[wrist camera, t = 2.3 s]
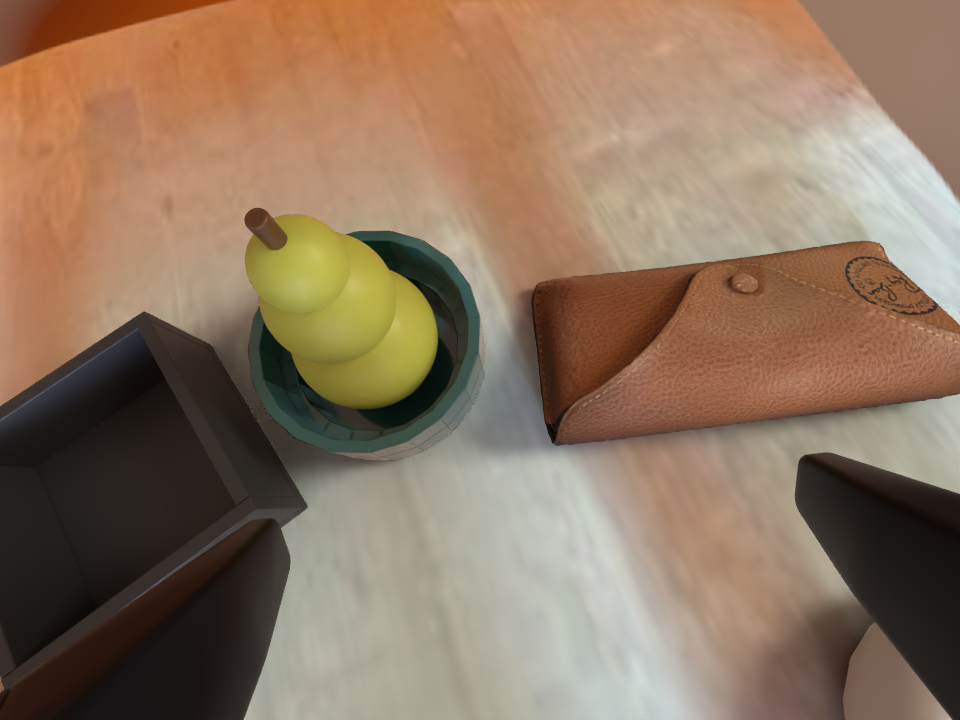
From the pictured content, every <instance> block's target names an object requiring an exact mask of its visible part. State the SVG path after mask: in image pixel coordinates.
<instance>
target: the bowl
mask: <svg viewBox="0 0 960 720" xmlns="http://www.w3.org/2000/svg"><path fill="white" fill-rule="evenodd" d="M346 235H348V236H351V237H353V238H356V239H358V240H360V241H361V242H363V243H365V244H366V245H368V246H369V247H370V248H371V249H373V250H374V251H375V252H376V253H377V254H378V255H379V256H380V257H381V259H382V260H383V261H384V263H385V264H386V266H387V267H388V269H389V270H391V271H393V272H396V273H398V274H400V275H401V276H403V277H405V278H406V279H408V280H409V281H410V282H411V283H413V284H414V285H415V286H416V287H417V288H418V289H419V290H420V291H421V292H422V294H423V295H424V297H425V298H426V300H427V301H428V303H429V305H430V307H431V309H432V311H433V313H434V317H435V320H436V324H437V330H438V345H437V352H436V356H435V360H434V363H433V365H432V368H431V370H430V371H429V373H428V375H427V377H426V378H425V380H424V381H423V383H422V384H421V385H420V387H419V388H418V389H417V390H416V391H415V392H413V393H412V394H411V395H409V396H408V397H406V398H404V399H402V400H401V401H398V402H396V403H394V404H392V405H389V406H386V407H382V408H377V409H366V410H362V409H352V408H347V407H343V406H340V405H337V404H335V403H332V402H330V401H328V400H326V399H325V398H323V397H322V396H321V395H319V394H318V393H316V392H315V391H314V390H313V389H312V388H311V387H310V386H309V385H308V384H307V383H306V381H305V380H304V379H303V378H302V376H301V375H300V373H299V371H298V370H297V368H296V365H295V363H294V360H293V357H292V354H291V352H290V351H288V350H287V349H285V348H284V347H283V346H282V345H281V344H280V343H279V342H278V341H277V340H276V339H275V338H274V337H273V335H272V334H271V333H270V331H269V330H268V328H267V326H266V324H265V322H264V319H263V317H262V314H261V311H260V306H259V307H258V309H257V311H256V313H255V317H254V318H253V324H252V329H251V335H250V340H249V346H248V356H249V363H250V370H251V377H252V383H253V386H254V388H255V390H256V392H257V394H258V396H259V397H260V399H261V401H262V403H263V405H264V407H265V409H266V410H267V412H268V414H269V415H270V417H271V418H273V419H274V420H275V421H276V422H277V423H278V424H279V425H281V426H282V427H283V428H284V429H285V430H286V431H287V432H289V433H290V434H291V435H292V436H293V437H294V438H296V439H297V440H300V441H302V442H305V443H308V444H310V445H313V446H315V447H318V448H321V449H323V450H326V451H329V452H332V453H336V454H340V455H344V456H348V457H352V458H356V459H360V460H384V461H392V460H397V459H400V458H404V457H407V456H410V455H414V454H417V453H420V452H423V451H424V450H427V449H429V448H430V447H432V446H433V445H435V444H436V443H438V442H439V441H440V440H442V439H443V438H445V437H446V436H448V435H449V434H451V433H452V431H454V430H455V429H456V427H457V426H458V425H459V424H460V422H461V421H462V420H463V418H464V417H465V416H466V415H467V413H468V412H469V411H470V410H471V408H472V407H473V405H474V403H475V400H476V398H477V395H478V392H479V389H480V387H481V384H482V381H483V379H484V375H485V341H484V336H483V330H482V325H481V320H480V315H479V312H478V309H477V306H476V302H475V299H474V296H473V293H472V290H471V286H470V285H469V283H468V282H467V280H466V279H465V278H464V276H463V275H462V274H461V272H460V271H459V270H458V268H457V267H456V266H455V264H454V263H453V262H452V260H451V259H450V258H448V257H447V256H446V255H444V254H443V253H441V252H440V251H438V250H437V249H435V248H434V247H432V246H431V245H429V244H428V243H426V242H425V241H423V240H420V239H417V238H414V237H410V236H407V235H403V234H400V233H396V232H393V231H358V232H353V233H349V234H346Z"/></svg>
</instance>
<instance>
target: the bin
mask: <svg viewBox="0 0 960 720" xmlns="http://www.w3.org/2000/svg"><path fill="white" fill-rule="evenodd" d="M307 507H308V506H307V504H306V503H305V501H304V499H303V498H302V496H301V494H300V493H299V491H298V489H297V488H296V486H295V484H294V483H293V481H292V479H291V478H290V476H289V474H288V473H287V471H286V469H285V468H284V466H283V465H282V463H281V461H280V460H279V458H278V456H277V455H276V453H275V451H274V450H273V448H272V446H271V445H270V443H269V441H268V440H267V438H266V436H265V435H264V433H263V431H262V430H261V428H260V426H259V425H258V423H257V421H256V420H255V418H254V416H253V415H252V413H251V411H250V410H249V408H248V406H247V405H246V403H245V401H244V400H243V398H242V396H241V395H240V393H239V391H238V390H237V388H236V387H235V385H234V383H233V382H232V380H231V378H230V377H229V375H228V373H227V372H226V370H225V368H224V367H223V365H222V363H221V362H220V360H219V358H218V357H217V355H216V353H215V352H214V350H213V348H212V347H211V345H210V344H208V343H206V342H204V341H202V340H200V339H198V338H196V337H194V336H192V335H190V334H188V333H186V332H184V331H182V330H180V329H178V328H176V327H174V326H173V325H171V324H169V323H167V322H165V321H163V320H161V319H159V318H157V317H155V316H153V315H151V314H149V313H147V312H142V313H141V314H139V315H138V316H136V317H135V318H133V319H132V320H130V321H129V322H127V323H126V324H124V325H123V326H121V327H120V328H118V329H116V330H115V331H113V332H112V333H110V334H109V335H107V336H106V337H104V338H103V339H101V340H100V341H98V342H97V343H95V344H94V345H92V346H91V347H89V348H88V349H86V350H85V351H83V352H82V353H80V354H79V355H77V356H76V357H74V358H73V359H71V360H70V361H68V362H67V363H65V364H64V365H62V366H61V367H59V368H58V369H56V370H55V371H53V372H52V373H50V374H49V375H47V376H46V377H44V378H43V379H41V380H39V381H38V382H36V383H35V384H33V385H32V386H30V387H29V388H27V389H26V390H24V391H23V392H21V393H20V394H18V395H17V396H15V397H14V398H12V399H11V400H9V401H8V402H6V403H5V404H3V405H2V406H0V677H1V678H3V679H2V684H3V687H4V689H7V688H12V686H13V684H14V683H15V682H17V681H18V680H19V679H21V678H22V677H24V676H25V675H27V674H28V673H30V672H31V671H33V670H34V669H35V668H37V667H38V666H40V665H41V664H43V663H44V662H46V661H47V660H49V659H50V658H51V657H53V656H54V655H56V654H57V653H59V652H60V651H62V650H63V649H65V648H66V647H67V646H69V645H70V644H72V643H73V642H75V641H76V640H78V639H79V638H81V637H82V636H83V635H85V634H86V633H88V632H89V631H91V630H92V629H94V628H95V627H97V626H98V625H99V624H101V623H102V622H104V621H105V620H107V619H108V618H110V617H111V616H113V615H114V614H115V613H117V612H118V611H120V610H121V609H123V608H124V607H126V606H127V605H129V604H130V603H131V602H133V601H134V600H136V599H137V598H139V597H140V596H142V595H143V594H145V593H146V592H147V591H149V590H150V589H152V588H153V587H155V586H156V585H158V584H159V583H160V582H162V581H163V580H165V579H166V578H168V577H169V576H171V575H172V574H174V573H175V572H176V571H178V570H179V569H181V568H182V567H184V566H185V565H187V564H188V563H190V562H191V561H192V560H194V559H195V558H197V557H198V556H200V555H201V554H203V553H204V552H206V551H207V550H208V549H210V548H211V547H213V546H214V545H216V544H217V543H219V542H220V541H222V540H223V539H224V538H226V537H227V536H229V535H230V534H232V533H233V532H235V531H236V530H238V529H239V528H240V527H242V526H243V525H245V524H246V523H248V522H249V521H252V520H259V519H267V518H273V519H275V520H277V522H278V523H279V525H280V528H281V527H283V526H284V525H285V524H287V523H288V522H289V521H291V520H292V519H293V518H295V517H296V516H297V515H299V514H300V513H301V512H303V511H304V510H305V509H307Z"/></svg>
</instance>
